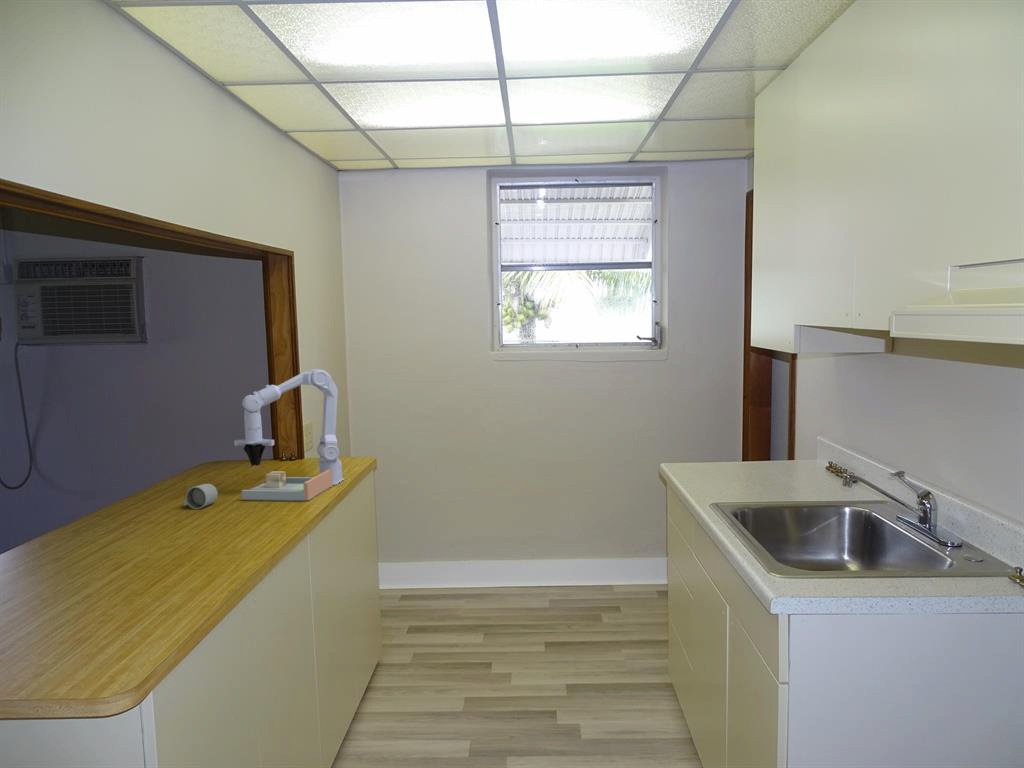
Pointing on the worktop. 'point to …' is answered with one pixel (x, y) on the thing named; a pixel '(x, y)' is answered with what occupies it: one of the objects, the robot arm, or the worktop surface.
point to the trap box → (292, 489)
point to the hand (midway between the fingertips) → (255, 465)
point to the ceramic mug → (201, 496)
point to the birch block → (275, 479)
